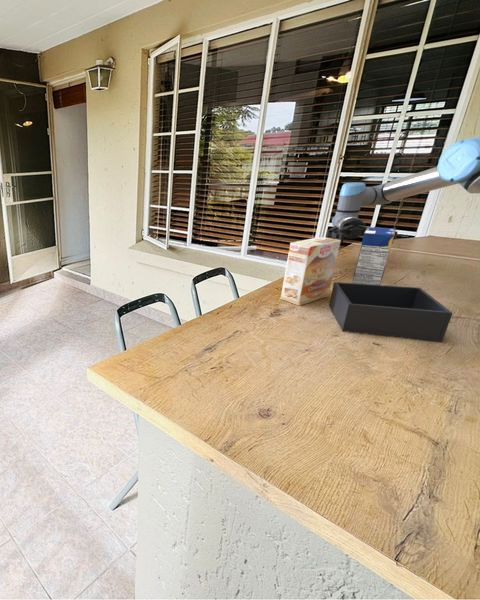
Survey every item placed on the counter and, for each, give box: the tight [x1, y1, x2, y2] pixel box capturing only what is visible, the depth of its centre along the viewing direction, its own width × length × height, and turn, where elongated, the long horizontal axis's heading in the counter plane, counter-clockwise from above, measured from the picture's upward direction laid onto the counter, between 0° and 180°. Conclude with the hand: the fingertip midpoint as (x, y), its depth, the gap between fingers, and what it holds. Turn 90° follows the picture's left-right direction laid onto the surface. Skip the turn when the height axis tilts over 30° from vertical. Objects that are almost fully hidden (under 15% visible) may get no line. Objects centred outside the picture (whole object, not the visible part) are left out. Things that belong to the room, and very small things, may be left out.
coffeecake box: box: [280, 236, 342, 306], centre depth 114 cm, size 15×7×20 cm, turn 114°
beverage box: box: [351, 226, 397, 285], centre depth 111 cm, size 7×11×22 cm, turn 138°
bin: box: [328, 281, 453, 343], centre depth 97 cm, size 21×19×8 cm
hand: (366, 239), depth 117 cm, fingers open, 13 cm apart
